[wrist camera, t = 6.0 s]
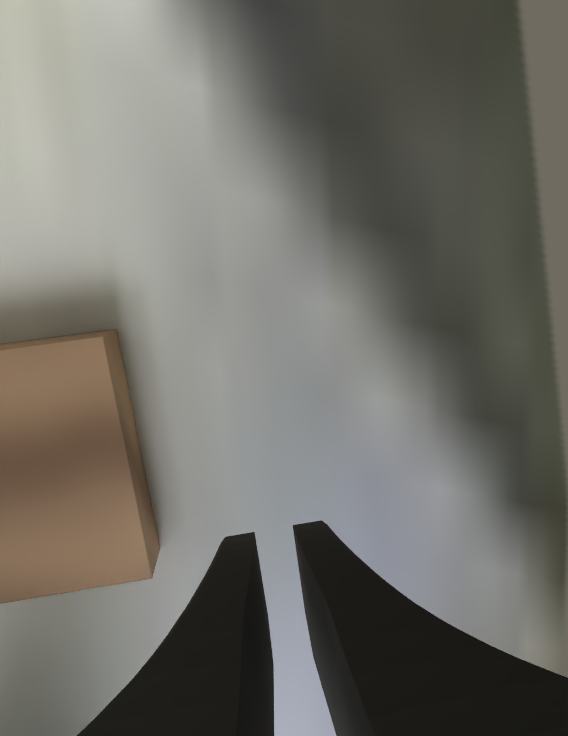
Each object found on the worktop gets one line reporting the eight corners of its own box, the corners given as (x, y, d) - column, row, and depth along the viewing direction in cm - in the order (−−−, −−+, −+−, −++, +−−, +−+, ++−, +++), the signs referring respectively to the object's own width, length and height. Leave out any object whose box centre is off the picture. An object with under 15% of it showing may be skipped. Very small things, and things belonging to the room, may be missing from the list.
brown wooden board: (161, 542, 21) (151, 578, 18) (12, 566, 20) (-17, 606, 18) (119, 327, 19) (102, 336, 16) (-47, 349, 18) (-88, 362, 16)
